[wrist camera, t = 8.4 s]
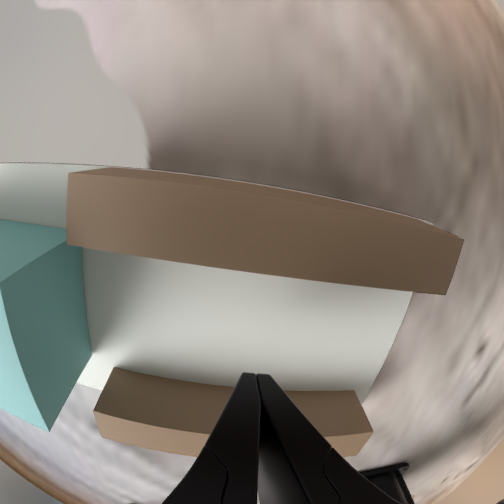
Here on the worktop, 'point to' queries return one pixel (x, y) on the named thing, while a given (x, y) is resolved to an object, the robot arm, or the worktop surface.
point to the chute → (229, 293)
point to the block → (40, 321)
